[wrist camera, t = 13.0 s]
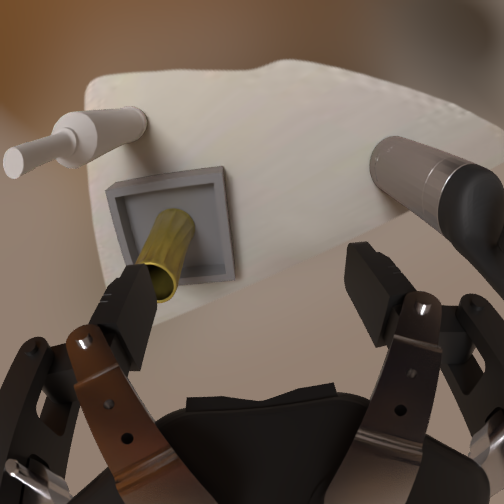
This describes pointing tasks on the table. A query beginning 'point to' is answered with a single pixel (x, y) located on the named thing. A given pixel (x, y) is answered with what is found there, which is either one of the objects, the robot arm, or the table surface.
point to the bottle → (78, 139)
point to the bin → (190, 201)
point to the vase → (167, 251)
